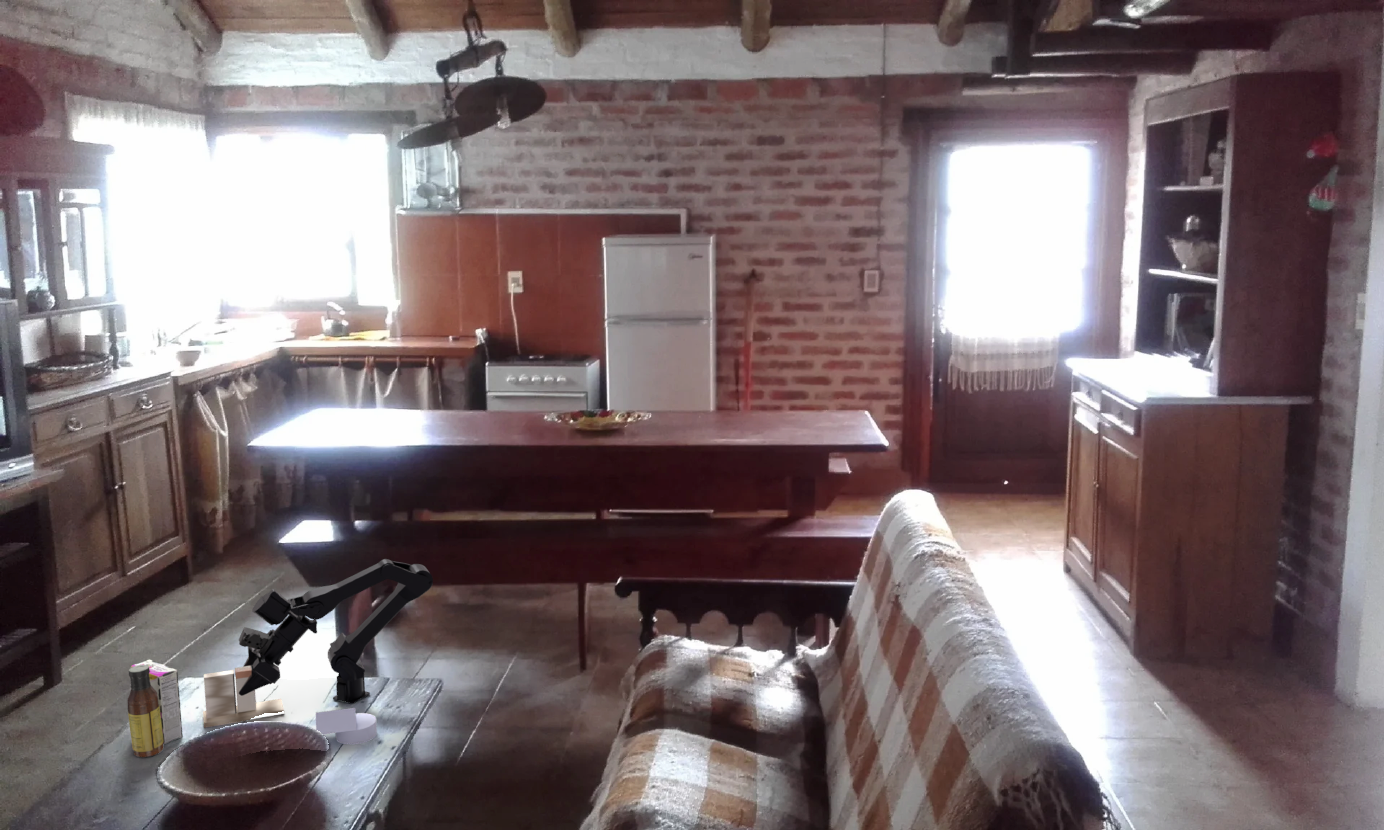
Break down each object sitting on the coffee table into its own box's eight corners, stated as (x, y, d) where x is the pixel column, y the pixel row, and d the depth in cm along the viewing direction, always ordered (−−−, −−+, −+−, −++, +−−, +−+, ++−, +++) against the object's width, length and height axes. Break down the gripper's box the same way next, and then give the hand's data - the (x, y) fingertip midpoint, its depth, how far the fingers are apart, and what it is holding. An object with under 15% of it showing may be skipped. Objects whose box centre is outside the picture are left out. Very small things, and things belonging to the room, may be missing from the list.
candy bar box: (134, 733, 251) (129, 665, 248) (155, 725, 255) (149, 658, 253) (163, 745, 245) (157, 676, 242) (183, 737, 249) (178, 668, 247)
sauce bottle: (158, 743, 246) (151, 659, 243) (168, 752, 242) (162, 667, 239) (127, 752, 242) (120, 667, 238) (137, 762, 237) (129, 675, 234)
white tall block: (255, 704, 263) (253, 665, 261) (256, 709, 260) (253, 669, 259) (237, 707, 261) (234, 667, 260) (238, 712, 259) (235, 672, 257)
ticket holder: (281, 702, 268) (279, 659, 266) (284, 714, 261) (281, 669, 259) (203, 715, 260) (200, 671, 258) (204, 727, 254) (200, 681, 252)
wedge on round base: (317, 749, 244) (377, 741, 248) (315, 720, 243) (376, 713, 247) (317, 731, 252) (375, 724, 256) (315, 704, 251) (374, 697, 255)
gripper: (256, 604, 267) (210, 654, 264) (262, 629, 251) (212, 682, 248) (292, 630, 272) (247, 679, 269) (300, 656, 255) (252, 709, 252)
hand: (239, 687), depth 259 cm, fingers open, 9 cm apart
